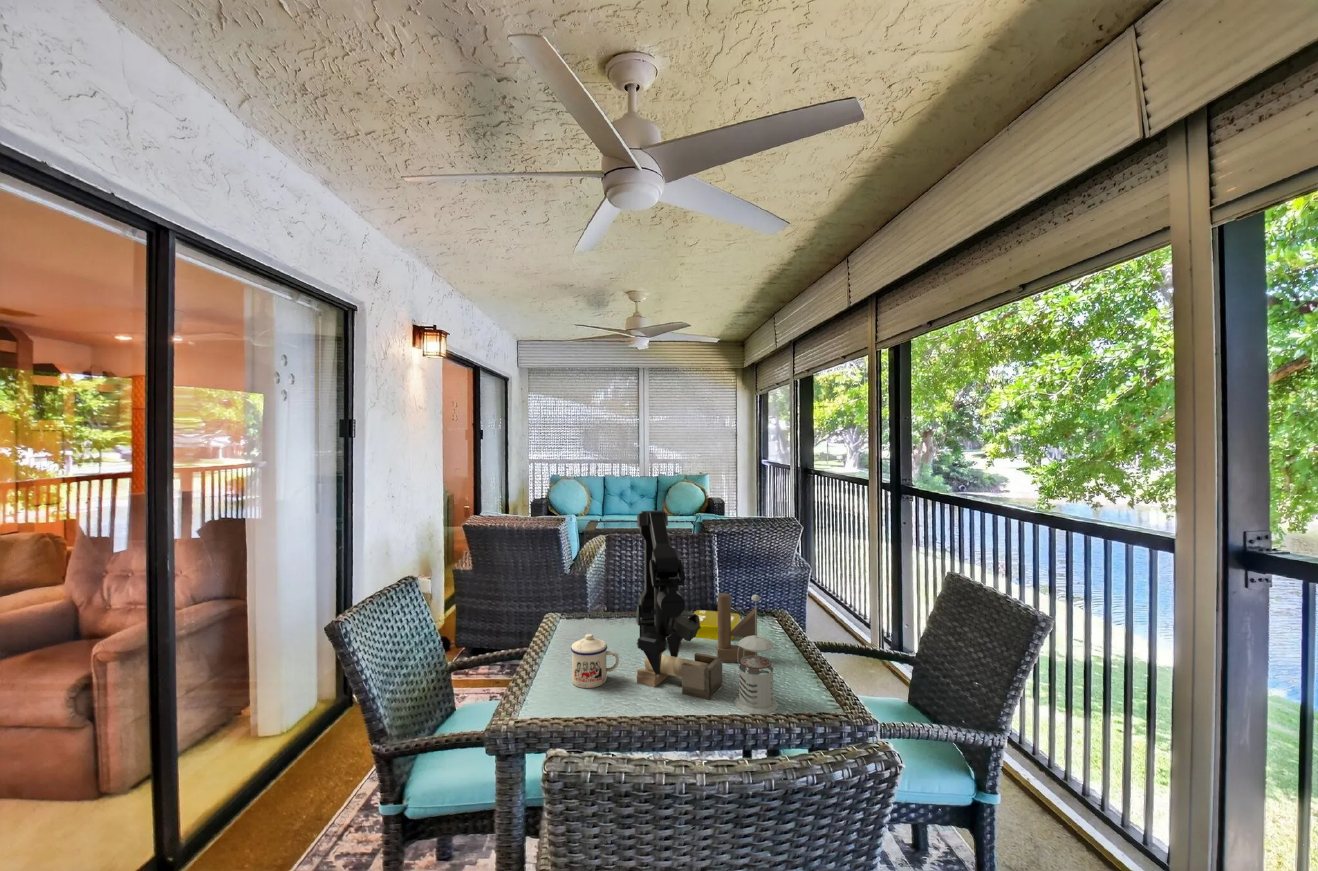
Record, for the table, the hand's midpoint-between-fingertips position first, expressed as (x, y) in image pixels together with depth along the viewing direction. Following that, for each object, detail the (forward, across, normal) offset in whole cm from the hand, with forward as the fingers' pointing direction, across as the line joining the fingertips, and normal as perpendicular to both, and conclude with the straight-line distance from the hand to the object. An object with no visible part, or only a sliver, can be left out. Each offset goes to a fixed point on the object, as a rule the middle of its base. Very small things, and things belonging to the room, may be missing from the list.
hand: (665, 667), depth 141 cm
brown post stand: (+4, +21, -11) cm, 24 cm away
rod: (+2, 0, -3) cm, 3 cm away
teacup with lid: (+4, -8, +16) cm, 18 cm away
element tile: (+4, +40, +4) cm, 40 cm away
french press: (+4, 0, -23) cm, 23 cm away
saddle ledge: (+4, 0, +4) cm, 5 cm away
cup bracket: (+4, 0, -10) cm, 11 cm away
